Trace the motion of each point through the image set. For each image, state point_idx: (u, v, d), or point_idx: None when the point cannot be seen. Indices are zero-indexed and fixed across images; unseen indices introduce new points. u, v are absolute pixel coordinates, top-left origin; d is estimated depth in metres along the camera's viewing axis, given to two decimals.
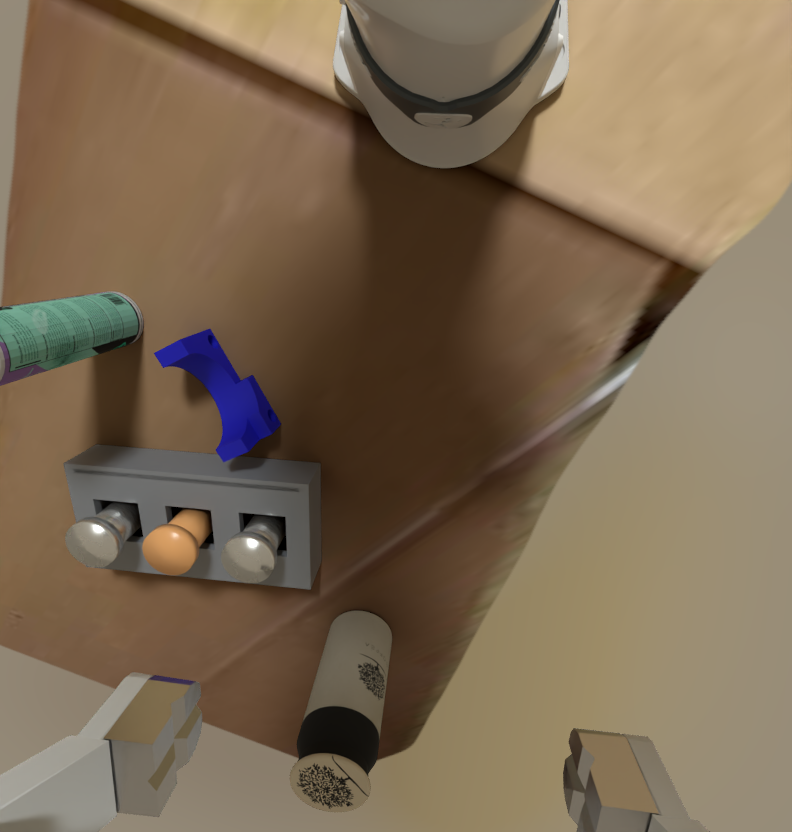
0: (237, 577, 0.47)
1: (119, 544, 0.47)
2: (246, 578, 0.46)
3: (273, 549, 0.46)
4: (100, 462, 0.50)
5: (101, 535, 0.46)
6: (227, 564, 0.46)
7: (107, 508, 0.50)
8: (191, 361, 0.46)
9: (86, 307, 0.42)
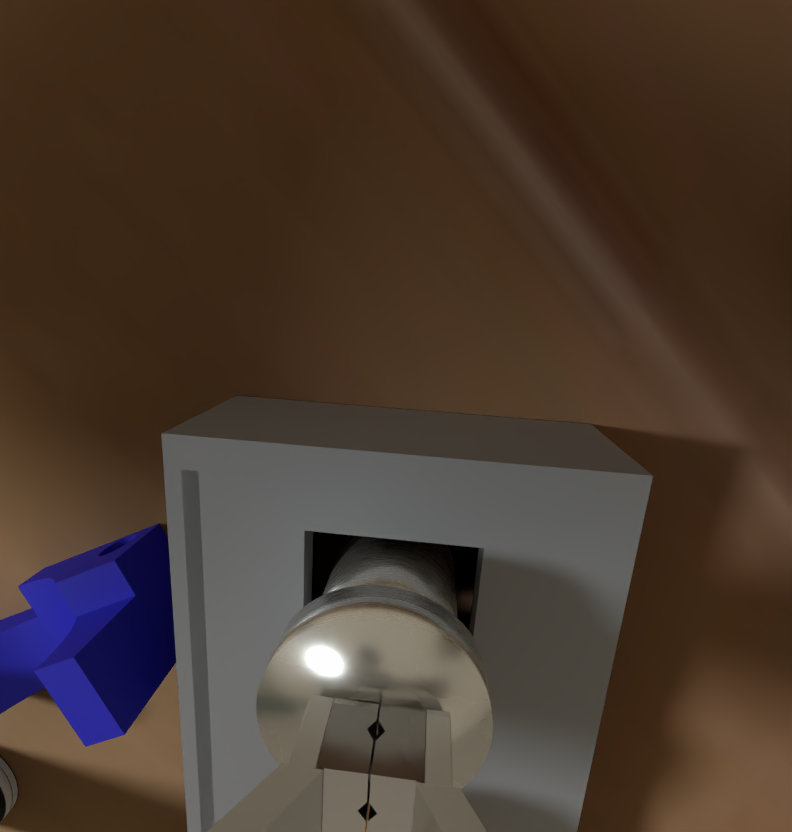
0: (461, 775, 0.10)
1: None
2: (463, 742, 0.10)
3: (337, 598, 0.11)
4: None
5: None
6: None
7: None
8: None
9: None
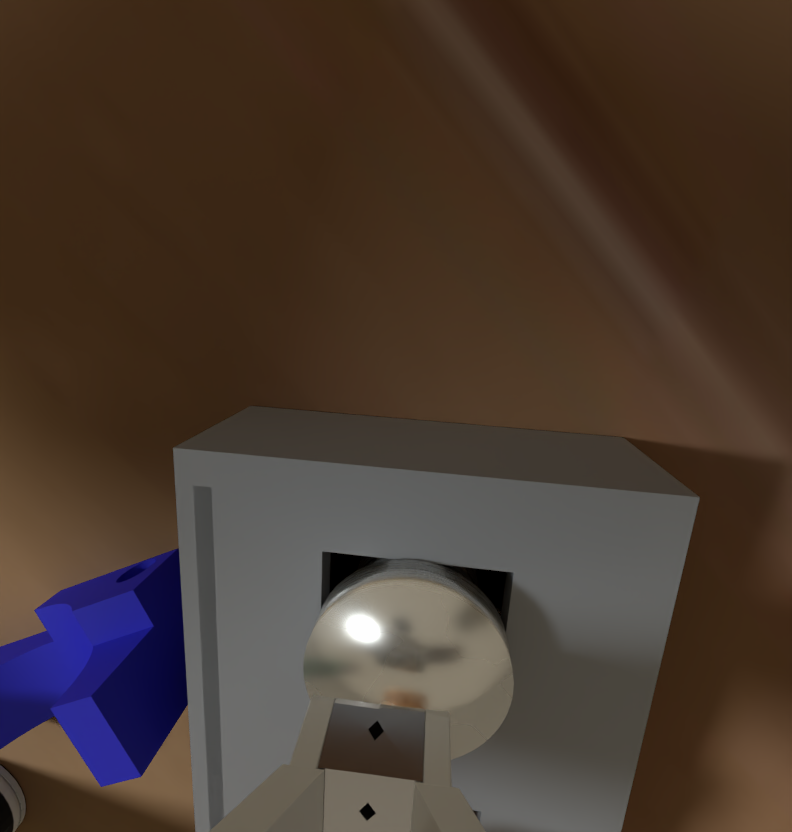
0: (485, 729, 0.12)
1: None
2: (487, 698, 0.12)
3: (374, 570, 0.12)
4: None
5: None
6: None
7: None
8: None
9: None
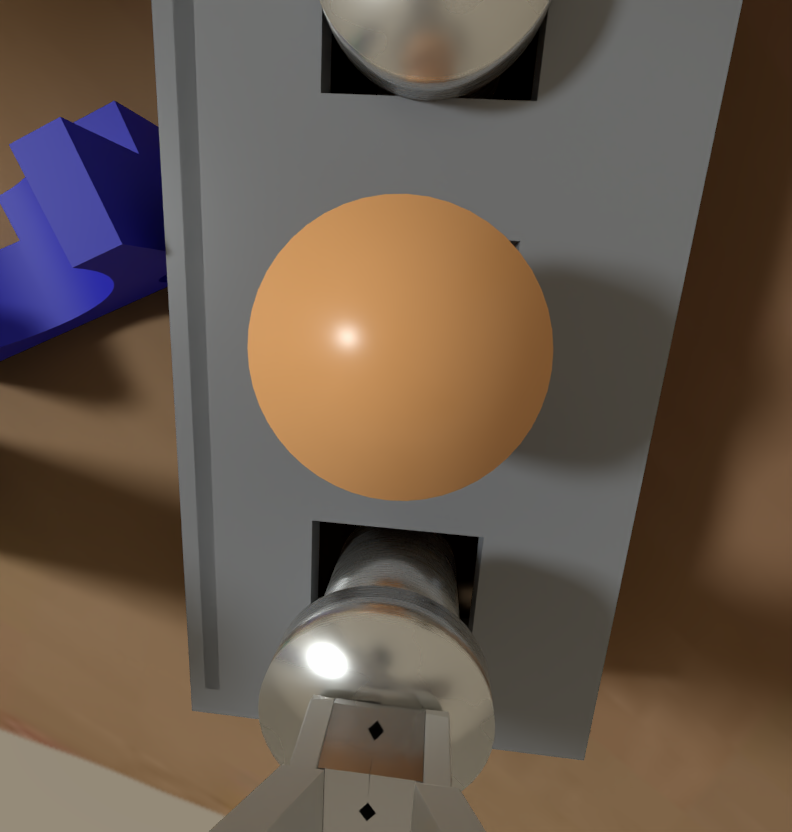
0: None
1: (385, 600, 0.10)
2: None
3: None
4: None
5: (314, 662, 0.10)
6: (457, 44, 0.09)
7: None
8: None
9: None
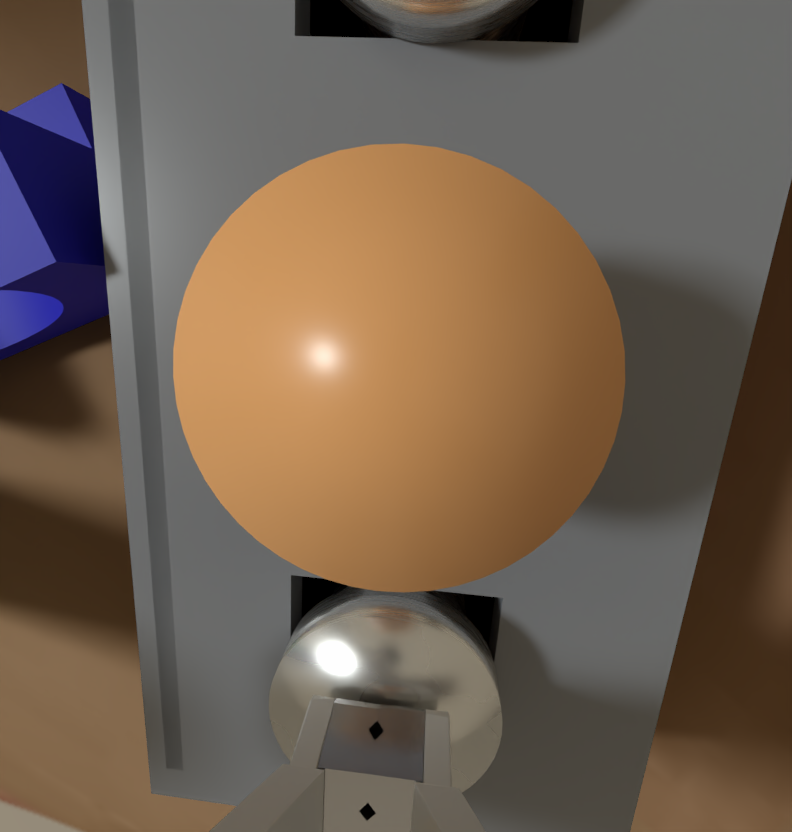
0: None
1: (394, 599, 0.10)
2: None
3: None
4: None
5: (324, 660, 0.10)
6: None
7: None
8: None
9: None
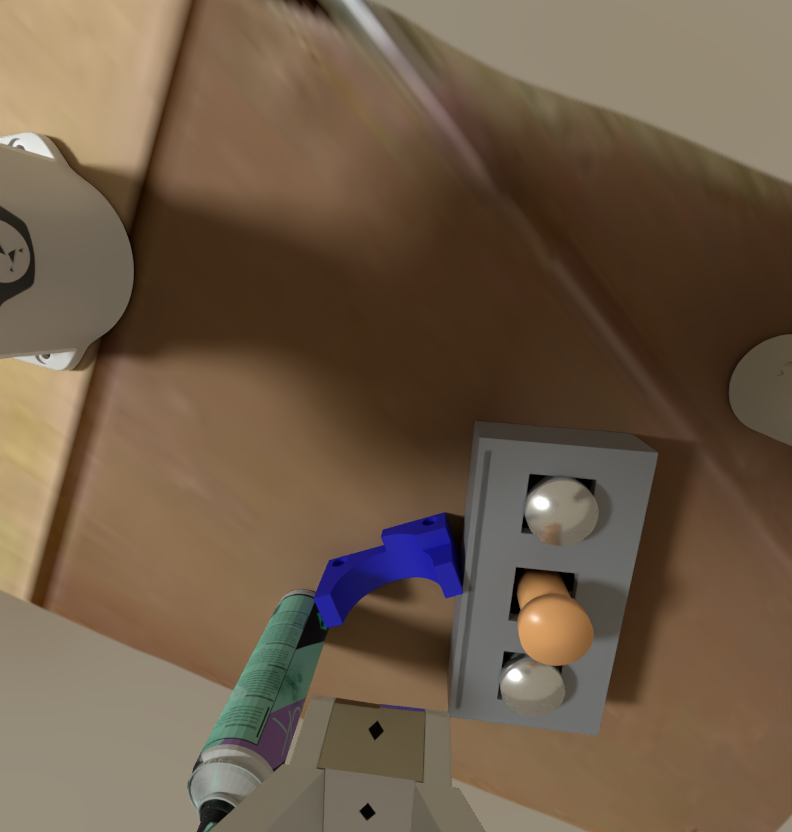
0: (588, 531, 0.35)
1: None
2: (589, 519, 0.35)
3: (550, 479, 0.35)
4: (451, 677, 0.42)
5: (518, 675, 0.39)
6: (566, 539, 0.35)
7: None
8: (349, 591, 0.41)
9: (260, 642, 0.40)
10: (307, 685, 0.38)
